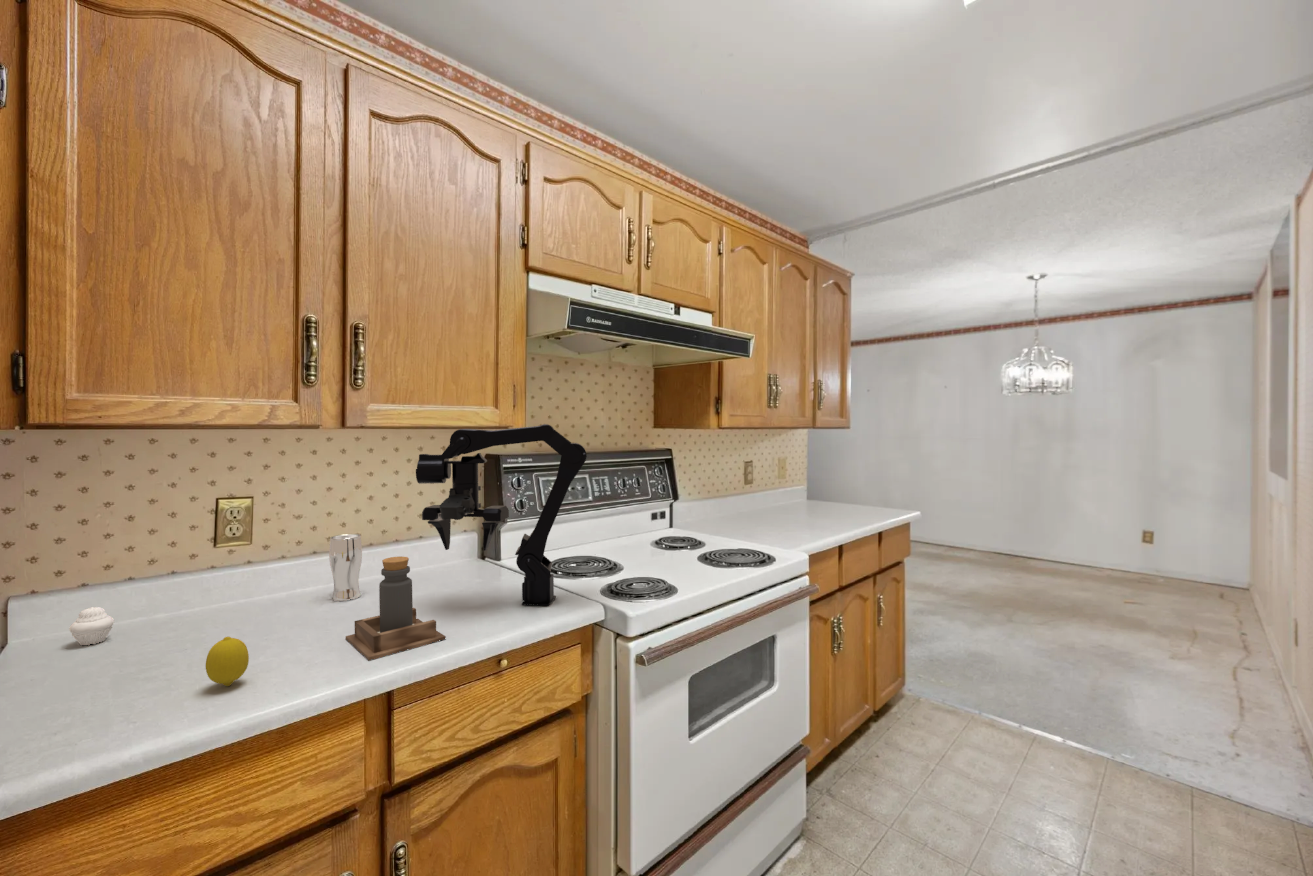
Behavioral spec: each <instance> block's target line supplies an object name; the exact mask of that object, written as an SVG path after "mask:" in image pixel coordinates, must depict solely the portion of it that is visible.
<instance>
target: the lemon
mask: <svg viewBox="0 0 1313 876" xmlns="http://www.w3.org/2000/svg"><path fill="white" fill-rule="evenodd" d="M247 647H248V646H247V645H246V644H245V642H243V641H242V640H241V639H239V638H235V637H231V636H225V637H224V638H223V639H221V640H219V641H217V642H216V643H214V645H213V646H211V648H210V649H209V651H208V653H207V656H206V658H205V670H206V671H205V672H206V674H207V677H208V678H209V680H211V681H212V682H213V683H215V684H219V685H223V686H224V687H229V686H231V685H232V684H233V683H234V682H235V681H237V680H238V679H240V678H241V677H242V676H243V675H244V674H245V672H246V670H247V669H248V666H249V659H250V657H249V656H250V654H249V651H248V648H247Z"/></svg>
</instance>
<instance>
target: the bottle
mask: <svg viewBox="0 0 1313 876" xmlns="http://www.w3.org/2000/svg"><path fill="white" fill-rule="evenodd" d="M409 559H410V558H409V557H408V556H392V557H387V558H383V559H382V566H383V568H382V569H381V570H380V571H381V572H380V575H381V576H383V577H384V579H383V580H381V581H380V582H379V584H378V585H379V587H378V588H379V589H378V590H379V591H378V592H379V594H378V595H379V600H378V601H379V602H378V603H379V615H380V633H382V632H386V631H390V630H394V629H398V628H402V627H406V626H410V625H413V608H414V607H413V580H412V578H410V577H409V576H408V574H409V573H410V572H411V567H410V566H409Z"/></svg>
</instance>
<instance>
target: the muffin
mask: <svg viewBox="0 0 1313 876" xmlns="http://www.w3.org/2000/svg"><path fill="white" fill-rule="evenodd" d="M114 623H115V619H114V618H113V616H110V615H108V613H107V612H106V610H105V609H104V608H103V607H99V606H95V607H94V606H91V607H89V608H85V609H83V610H81V612H79V613H78V617H77V618H76V619H75V621H74V622H73V623H72V624H71V625H70V626H69V628H68V629H69V632H70V633H71V636H72V637H73V638H74V639H75V640H76V641H77V642H78V644H79V645H80V646H82V645H88V646H91V645H90V644H94V645H97V644H96V643H98V644H100V643H99V642H101V643H103V642H105V640H106V638H107V637H108V635H109V633H110V632H111V631H112V628H113V626H114ZM102 641H103V642H102Z"/></svg>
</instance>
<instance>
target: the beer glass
mask: <svg viewBox="0 0 1313 876" xmlns="http://www.w3.org/2000/svg"><path fill="white" fill-rule="evenodd" d="M361 536H362V535H361V534H360V533H359V534H358V533H345V534H338V535H333V536H331V537H329V551H328V554H329V558H328V559H329V565H330V569H331V575H332V579H333V592H332V596H331V599H333V600H332V601H334V600H335V601H334V602H348V601H347V600H349V601H351V600H350V599H353V600H356V599H358V597H359V598H360V597H361V594H362V593H361V589H360V583H359V582H360V581H359V579H360V571H361V566H362V560H363V547H362V546H363V545H362V537H361ZM355 598H356V599H355Z"/></svg>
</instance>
